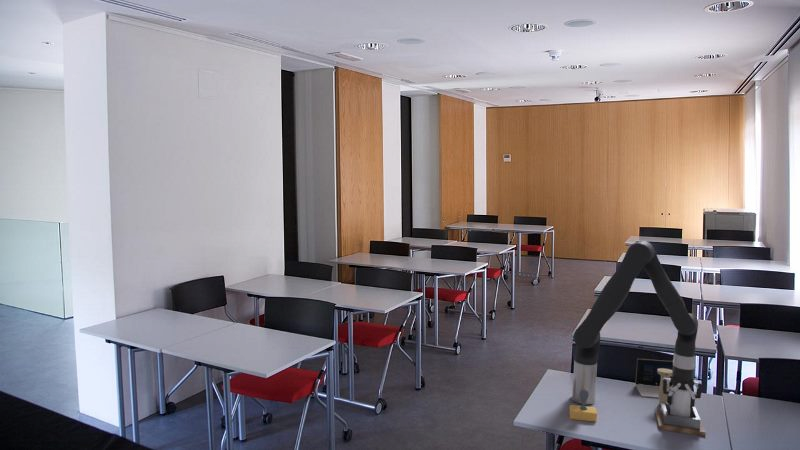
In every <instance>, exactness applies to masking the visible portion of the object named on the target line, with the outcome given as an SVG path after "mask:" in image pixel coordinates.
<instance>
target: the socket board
mask: <svg viewBox="0 0 800 450" xmlns="http://www.w3.org/2000/svg"><path fill="white" fill-rule="evenodd" d="M670 408H671V405H669V403H665V402H661V405H660V409H655V411H654V412H655V413H654V414H655V418H656V419H655V420H656V422H657V423H656V424H657V426H658V429H659V430H661V431H669V432H674V433H682V434H689V435H695V436H701V437H706V434H707V432H706V430H705V427H704V425H703V422H702V420H701V417H700V415H699V413H698V411H697V407H696V406H695V405H694V407H692V408H690V417H684V416H677V415H670Z"/></svg>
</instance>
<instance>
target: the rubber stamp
mask: <svg viewBox="0 0 800 450" xmlns="http://www.w3.org/2000/svg"><path fill="white" fill-rule="evenodd" d="M588 396H589V392H588V391H587V390H586V389H581V391H580V398H581V401H582V404H581V405H574V404H570V405H569V414H568V415H569V418H570V420H578V421H585V422H597V419H598V412H597V409H596V407H594V406H588V405H587V406H586V404H585V403H586V401H587V399H588Z"/></svg>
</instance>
